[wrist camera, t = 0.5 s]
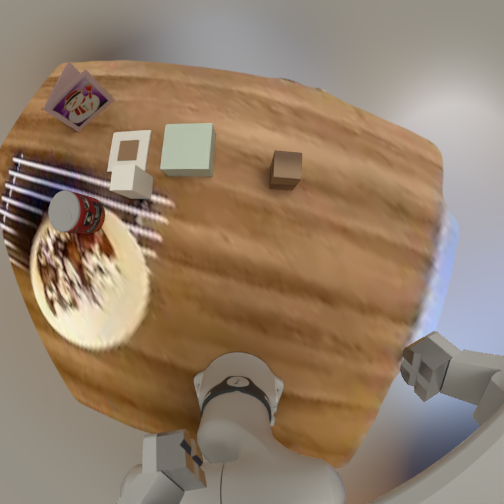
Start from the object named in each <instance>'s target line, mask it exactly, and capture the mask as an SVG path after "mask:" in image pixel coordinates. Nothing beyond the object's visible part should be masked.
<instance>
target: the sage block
mask: <svg viewBox="0 0 504 504" xmlns="http://www.w3.org/2000/svg"><path fill="white" fill-rule="evenodd" d="M215 141H216V133H215V130H214V126H213V123H198V124H167V125H166V127H165V134H164V142H163V150H162V158H161V167H160V169H161V170H162V171H163V172H164V173H165V174H167V175H168V176H207V177H213V165H214V153H215Z"/></svg>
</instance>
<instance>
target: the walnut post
mask: <svg viewBox="0 0 504 504" xmlns="http://www.w3.org/2000/svg"><path fill="white" fill-rule="evenodd" d="M301 175H302V153H297V152H286V151H275V152H274V156H273V160H272V163H271V169H270V189H282V190H293V189H294V188H295V187H296V185H297V184H298V183H299V181H300V180H301Z"/></svg>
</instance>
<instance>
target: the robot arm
mask: <svg viewBox="0 0 504 504" xmlns="http://www.w3.org/2000/svg"><path fill="white" fill-rule="evenodd" d="M402 356H403V357H404V358H405V359H404V360H403V362H402V363H401V369H400V371H401V374H402V377H403V379H404V381H405V382H406V383H407V384H408V385H411V386H414V389H415V390H414V391H415V393H416V394H417V395H418V396H419V397H420V398H421V399H422V400H423V401H424V402H425V401H426V400H428V399H430V398H431V397H433V396H434V395H436V394H437V393H439V392H440V391H441V392H440V393H443V394H445V395H448V396H451V397H454V398H457V399H460V400H463V401H466V402H469V403H472V404H475V405H478V406H477V408H476V410H475V412H474V414H473V418H474V419H475V420H476V421H477V422H478V424H479V425H480V427H479V428H478V429H477V430H476V431H475V432H474V433H472V434H471V435H470V436H469V437H468V438H467V439H466V440H464V441H463V442H462V443H461V444H459V445H458V446H457V447H456V448H454V449H453V450H452V451H451V452H449V453H448V454H447V455H445V456H444V457H443V458H441V459H440V460H438V461H437V462H436V463H434V464H433V465H431V466H430V467H428V468H427V469H426V470H424V471H423V472H421V473H419V474H418V475H416V476H415V477H413V478H412V479H410V480H408V481H407V482H405V483H403V484H402V485H400V486H398V487H397V488H395V489H393V490H391V491H390V492H388V493H386V494H384V495H382V496H380V497H378V498H376V499H374V500H372V501H370V502H368V503H366V504H504V356H499V355H493V354H486V353H480V352H474V351H469V350H463V351H461V350H459V349H458V348H457V347H456V346H454V345H453V344H452V343H451V342H449V341H448V340H447V339H445V338H444V337H443V336H442V335H440V334H439V333H438V332H435V331H433V332H431V333H430V334H428V335H427V336H425V337H423V338H421V339H419V340H418V341H416V342H414V343H413V344H411V345H409V346H408V347H406V348H405V349H404V350H403V353H402ZM199 384H200V385H199ZM194 385H195V389H196V394H197V398H198V402H199V406H200V409H201V422H200V425H199V429H198V433H197V443H196V441H195V440H193V439H191V438H190V433H189V432H188V430H187V429H182V430H176V431H170V432H163V433H156V434H149V435H145V436H144V438H143V455H142V464H140V465H136V466H134V467H133V468H132V469H131V470H130V471H129V472H128V473H127V475H126V476H125V477H124V479H123V481H122V484H121V488H120V499H119V501H118V502H117V503H116V504H344V503H345V486H344V483H343V480H342V478H341V476H340V475H339V473H338V472H337V471H336V469H335V468H334V467H333V466H331V465H330V464H329V463H327V462H326V461H324V460H323V459H319V458H314V457H309V456H305V455H302V454H299V453H296V452H294V451H292V450H290V449H288V448H286V447H285V446H283V445H282V444H280V443H279V442H278V441H277V440H276V439H275V438H274V437H273V434H272V430H271V426H274V423H275V417H274V416H273V415H274V413H276V411H277V405H278V402H279V399H280V396H281V394H282V391H283V388H284V382H283V381H282V380H281V379H280V378H278V377H277V376H275V375H274V374H273V373H272V372H271V370H270V369H269V367H268V366H267V365H266V364H265V363H264V362H263V361H262V360H261V359H259V358H258V357H256V356H254V355H251V354H247V353H241V352H235V353H228V354H225V355H222V356H220V357H218V358H217V359H215V360H214V361H213V362H212V363H211V364H210V365H209V366H208V368H207V369H206V370H205V371H202V372H200V373H198V374H197V375H195V377H194ZM277 389H278V390H277ZM201 453H202V454H201ZM202 455H203V456H204V457H205V458H206V459H207V460H208V461H209V462H210V463H203V458H202Z"/></svg>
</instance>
